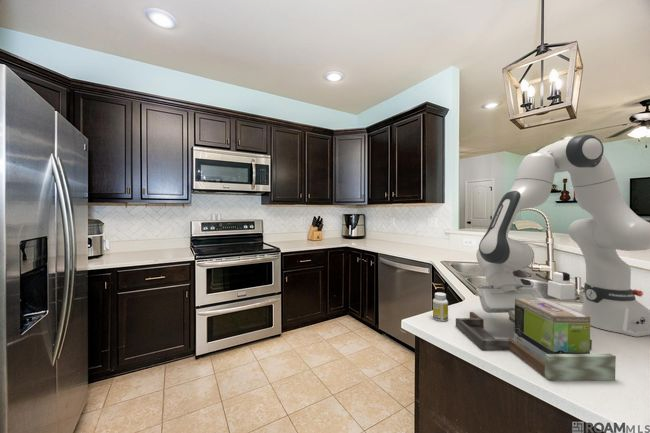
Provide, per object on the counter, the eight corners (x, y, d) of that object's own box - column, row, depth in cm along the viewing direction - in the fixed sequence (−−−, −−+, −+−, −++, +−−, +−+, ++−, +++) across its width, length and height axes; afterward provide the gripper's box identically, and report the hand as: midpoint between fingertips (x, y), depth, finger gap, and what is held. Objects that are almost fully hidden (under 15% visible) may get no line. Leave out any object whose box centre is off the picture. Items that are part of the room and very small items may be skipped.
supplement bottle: (446, 316, 105) (446, 292, 104) (449, 322, 99) (449, 296, 99) (432, 315, 106) (432, 291, 106) (433, 320, 101) (433, 295, 101)
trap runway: (533, 319, 101) (533, 303, 101) (648, 380, 65) (649, 356, 65) (448, 319, 102) (448, 304, 101) (515, 380, 65) (515, 356, 65)
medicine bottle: (561, 294, 130) (561, 270, 130) (575, 299, 123) (575, 274, 123) (547, 295, 130) (547, 270, 129) (560, 299, 123) (561, 274, 122)
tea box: (591, 371, 69) (592, 315, 68) (552, 371, 69) (553, 315, 69) (544, 342, 84) (545, 296, 83) (512, 342, 84) (513, 296, 84)
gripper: (478, 281, 92) (496, 321, 82) (537, 281, 92) (561, 320, 82) (471, 290, 96) (487, 328, 87) (527, 289, 96) (549, 328, 87)
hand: (524, 324), depth 84 cm, fingers closed
